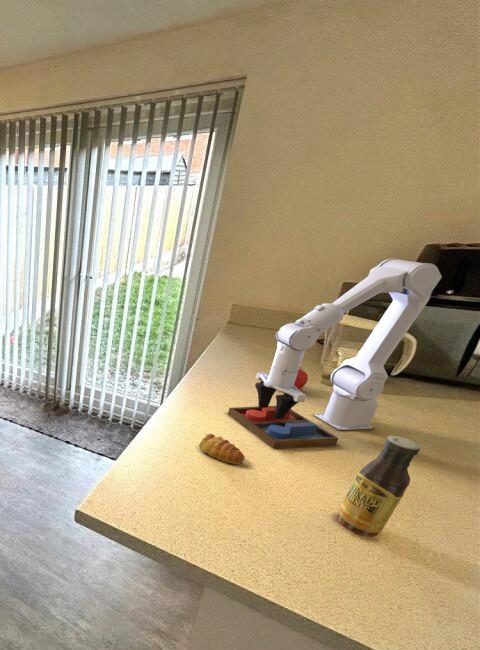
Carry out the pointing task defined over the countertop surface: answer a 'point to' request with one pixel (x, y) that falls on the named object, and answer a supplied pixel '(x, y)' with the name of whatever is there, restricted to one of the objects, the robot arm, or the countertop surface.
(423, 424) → the countertop surface
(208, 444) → the pastry
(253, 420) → the red spoon
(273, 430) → the blue spoon
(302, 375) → the pomegranate
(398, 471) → the sauce bottle
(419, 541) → the countertop surface
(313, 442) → the sorting tray
